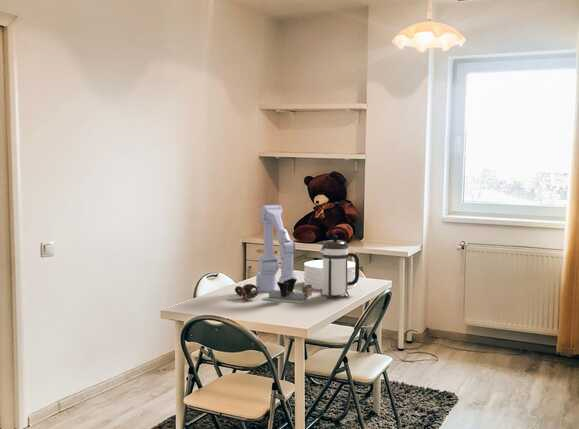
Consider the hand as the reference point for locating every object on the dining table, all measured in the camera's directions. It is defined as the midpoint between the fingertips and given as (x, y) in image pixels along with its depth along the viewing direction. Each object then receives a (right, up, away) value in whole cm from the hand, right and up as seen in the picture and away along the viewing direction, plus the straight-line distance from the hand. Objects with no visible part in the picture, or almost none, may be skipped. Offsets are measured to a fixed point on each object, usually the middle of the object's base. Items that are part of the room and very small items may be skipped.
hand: (287, 295), depth 298 cm
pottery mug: (-19, -2, +2) cm, 20 cm away
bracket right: (+10, -1, +9) cm, 13 cm away
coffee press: (+25, -2, +9) cm, 26 cm away
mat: (-1, -2, +1) cm, 2 cm away
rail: (+1, 0, +1) cm, 2 cm away
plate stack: (+23, 0, +37) cm, 44 cm away
